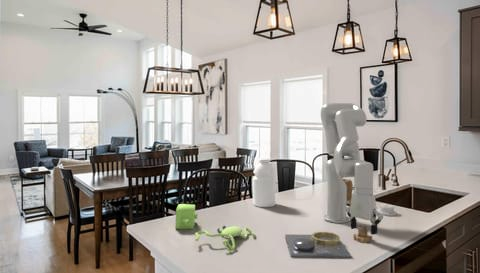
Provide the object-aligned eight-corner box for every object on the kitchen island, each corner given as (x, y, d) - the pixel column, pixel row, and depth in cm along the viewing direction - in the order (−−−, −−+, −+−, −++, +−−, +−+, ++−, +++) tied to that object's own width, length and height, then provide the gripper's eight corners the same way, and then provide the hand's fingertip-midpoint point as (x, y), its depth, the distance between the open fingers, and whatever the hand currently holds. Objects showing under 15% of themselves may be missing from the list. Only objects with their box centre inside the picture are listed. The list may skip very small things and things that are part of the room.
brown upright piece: (331, 201, 208) (331, 178, 207) (346, 199, 212) (346, 176, 211) (347, 207, 194) (347, 182, 193) (363, 205, 198) (363, 180, 197)
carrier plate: (285, 237, 143) (285, 229, 143) (336, 238, 143) (336, 230, 143) (290, 256, 124) (290, 247, 123) (349, 257, 123) (350, 248, 123)
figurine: (188, 247, 134) (188, 233, 134) (225, 228, 157) (225, 217, 157) (226, 257, 124) (226, 242, 124) (259, 235, 147) (259, 223, 147)
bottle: (263, 200, 210) (263, 157, 209) (280, 204, 200) (280, 158, 199) (248, 204, 201) (247, 158, 200) (264, 208, 191) (264, 160, 189)
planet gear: (351, 236, 145) (351, 224, 145) (368, 236, 145) (368, 224, 145) (356, 242, 138) (356, 229, 137) (374, 242, 137) (374, 229, 137)
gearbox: (195, 233, 152) (196, 213, 151) (174, 232, 151) (174, 212, 150) (198, 220, 170) (198, 202, 169) (178, 220, 169) (179, 201, 168)
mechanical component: (400, 216, 176) (390, 211, 186) (400, 208, 176) (391, 203, 186) (381, 216, 176) (373, 211, 186) (381, 208, 175) (373, 203, 185)
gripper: (341, 189, 145) (341, 227, 145) (377, 195, 131) (377, 238, 131) (351, 187, 149) (351, 225, 150) (387, 193, 135) (387, 234, 136)
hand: (363, 231), depth 140 cm, fingers open, 9 cm apart
